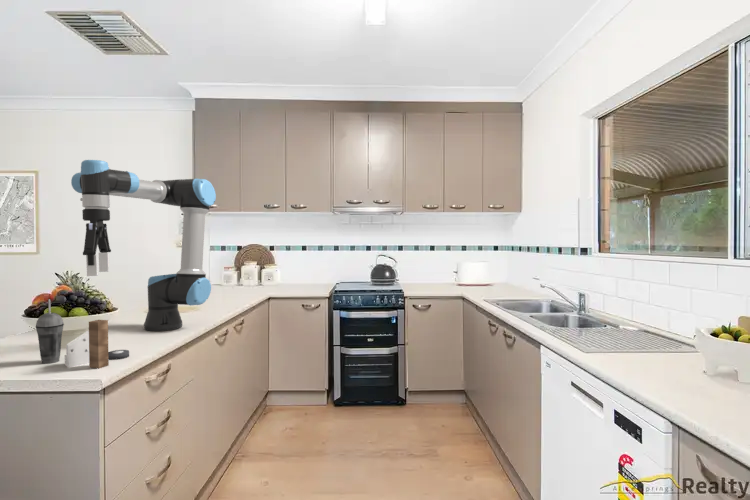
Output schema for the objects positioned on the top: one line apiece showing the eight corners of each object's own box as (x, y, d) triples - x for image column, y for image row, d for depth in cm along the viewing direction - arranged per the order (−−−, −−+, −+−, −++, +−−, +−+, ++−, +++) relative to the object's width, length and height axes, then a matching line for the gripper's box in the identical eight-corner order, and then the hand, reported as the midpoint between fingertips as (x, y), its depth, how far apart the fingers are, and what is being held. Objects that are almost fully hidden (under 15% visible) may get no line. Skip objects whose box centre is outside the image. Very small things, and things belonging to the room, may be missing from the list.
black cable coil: (118, 353, 148) (117, 348, 148) (133, 355, 146) (133, 350, 146) (101, 358, 142) (101, 353, 142) (117, 360, 140) (117, 355, 140)
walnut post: (99, 364, 136) (98, 319, 135) (108, 365, 135) (107, 320, 134) (89, 367, 132) (88, 321, 132) (98, 368, 131) (98, 322, 131)
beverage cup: (64, 357, 143) (63, 296, 143) (64, 362, 137) (63, 299, 137) (36, 360, 139) (35, 298, 139) (35, 366, 133) (33, 301, 133)
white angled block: (105, 352, 140) (89, 331, 137) (74, 374, 134) (56, 352, 130) (101, 350, 143) (85, 329, 139) (70, 372, 136) (53, 350, 133)
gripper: (94, 209, 153) (96, 270, 154) (69, 206, 129) (72, 278, 130) (118, 210, 155) (120, 269, 156) (98, 207, 131) (101, 277, 133)
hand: (98, 273), depth 143 cm, fingers open, 13 cm apart
